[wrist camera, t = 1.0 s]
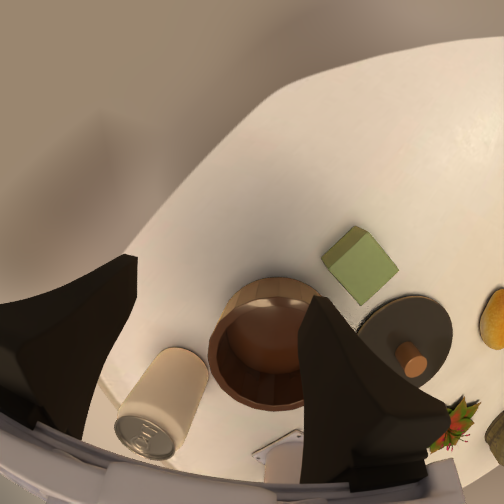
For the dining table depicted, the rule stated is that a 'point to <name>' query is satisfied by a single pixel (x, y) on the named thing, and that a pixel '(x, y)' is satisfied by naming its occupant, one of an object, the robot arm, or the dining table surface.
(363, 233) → the block
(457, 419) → the lily flower
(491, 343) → the bread roll
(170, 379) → the can
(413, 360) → the lid
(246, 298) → the pot
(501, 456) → the thermos
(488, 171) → the dining table surface
